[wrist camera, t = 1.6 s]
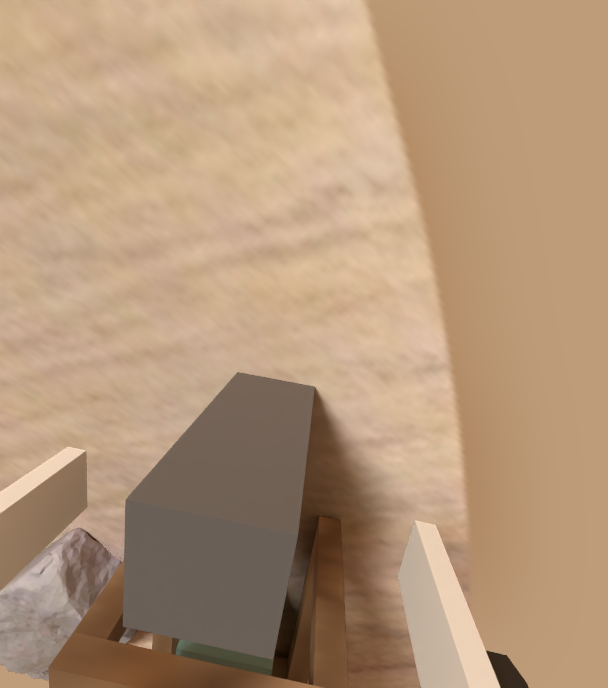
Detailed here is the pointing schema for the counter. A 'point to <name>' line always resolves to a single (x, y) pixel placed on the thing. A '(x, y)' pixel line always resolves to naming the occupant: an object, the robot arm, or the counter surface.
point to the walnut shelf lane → (204, 677)
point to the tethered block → (221, 526)
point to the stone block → (52, 602)
